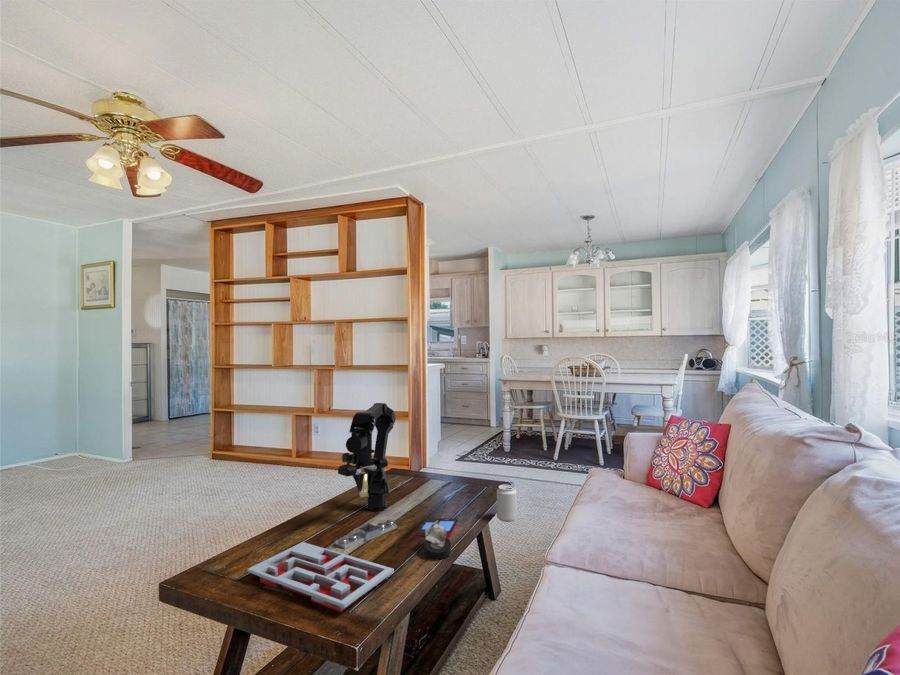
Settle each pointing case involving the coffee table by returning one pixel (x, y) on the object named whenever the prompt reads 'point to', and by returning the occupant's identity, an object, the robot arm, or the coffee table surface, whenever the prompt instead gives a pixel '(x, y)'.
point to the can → (506, 503)
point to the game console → (444, 522)
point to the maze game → (321, 575)
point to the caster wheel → (436, 542)
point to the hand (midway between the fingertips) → (363, 490)
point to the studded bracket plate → (365, 533)
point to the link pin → (364, 486)
